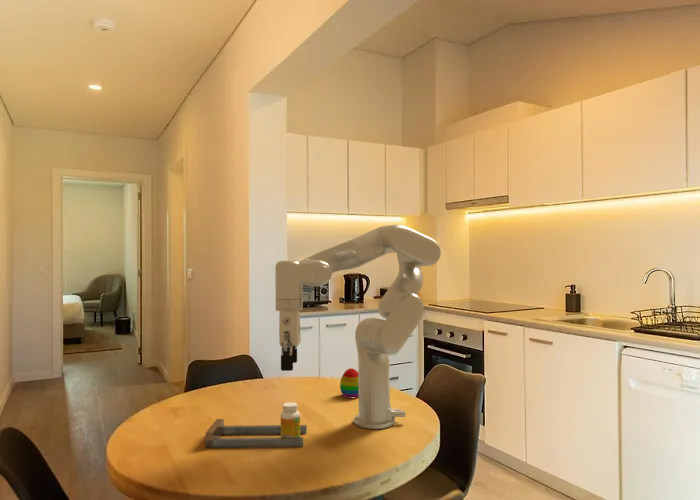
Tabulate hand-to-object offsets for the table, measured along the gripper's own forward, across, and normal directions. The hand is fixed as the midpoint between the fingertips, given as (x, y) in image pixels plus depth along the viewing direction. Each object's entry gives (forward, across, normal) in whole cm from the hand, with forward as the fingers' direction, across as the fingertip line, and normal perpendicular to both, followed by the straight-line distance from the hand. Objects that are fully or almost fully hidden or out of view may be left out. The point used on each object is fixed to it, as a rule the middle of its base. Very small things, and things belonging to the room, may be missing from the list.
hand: (289, 366), depth 136 cm
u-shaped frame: (+20, 0, +9) cm, 22 cm away
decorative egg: (+20, +41, -17) cm, 49 cm away
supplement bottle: (+20, 0, 0) cm, 21 cm away
